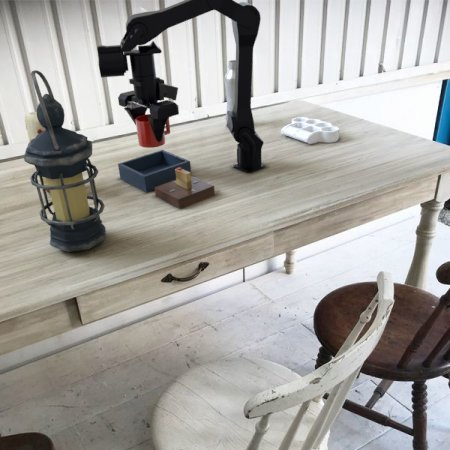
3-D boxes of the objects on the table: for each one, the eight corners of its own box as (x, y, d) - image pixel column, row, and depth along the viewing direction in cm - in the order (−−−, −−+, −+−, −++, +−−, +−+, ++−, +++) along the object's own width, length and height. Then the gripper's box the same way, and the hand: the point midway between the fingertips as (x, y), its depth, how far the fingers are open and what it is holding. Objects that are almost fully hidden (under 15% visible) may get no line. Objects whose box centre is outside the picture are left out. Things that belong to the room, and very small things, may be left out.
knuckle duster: (274, 134, 166) (307, 124, 173) (314, 148, 154) (348, 137, 161) (274, 123, 164) (307, 114, 171) (315, 137, 152) (349, 126, 159)
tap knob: (192, 188, 128) (190, 171, 126) (187, 189, 127) (186, 173, 125) (181, 182, 131) (179, 166, 128) (176, 184, 130) (175, 168, 128)
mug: (148, 149, 132) (145, 123, 128) (134, 143, 136) (130, 118, 132) (178, 140, 137) (175, 115, 133) (163, 134, 141) (160, 110, 137)
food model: (35, 189, 138) (15, 111, 126) (58, 181, 141) (41, 105, 129) (51, 200, 131) (31, 120, 120) (75, 192, 135) (58, 113, 123)
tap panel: (214, 195, 130) (214, 185, 129) (179, 209, 125) (178, 198, 123) (190, 183, 137) (189, 174, 135) (155, 196, 131) (154, 186, 129)
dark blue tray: (191, 176, 141) (190, 160, 138) (146, 192, 133) (144, 176, 131) (164, 164, 149) (162, 149, 146) (120, 179, 141) (117, 163, 139)
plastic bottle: (246, 128, 172) (245, 63, 160) (225, 129, 172) (223, 63, 160) (246, 122, 177) (245, 58, 165) (226, 123, 177) (223, 59, 166)
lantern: (111, 255, 108) (77, 76, 88) (46, 264, 106) (-4, 83, 86) (110, 224, 119) (79, 59, 99) (50, 231, 118) (7, 65, 97)
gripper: (194, 73, 124) (198, 138, 133) (149, 63, 136) (156, 123, 145) (155, 82, 118) (162, 150, 127) (112, 70, 130) (122, 133, 139)
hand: (151, 138), depth 135 cm, fingers closed on mug, 7 cm apart
